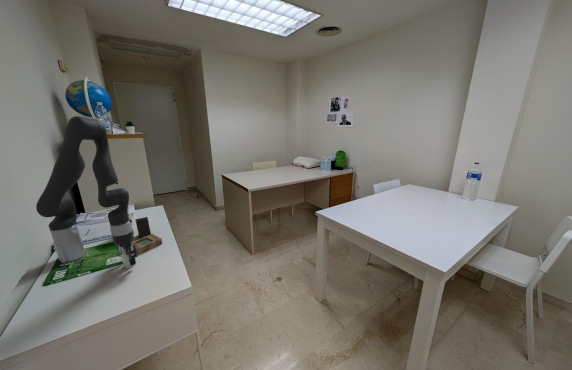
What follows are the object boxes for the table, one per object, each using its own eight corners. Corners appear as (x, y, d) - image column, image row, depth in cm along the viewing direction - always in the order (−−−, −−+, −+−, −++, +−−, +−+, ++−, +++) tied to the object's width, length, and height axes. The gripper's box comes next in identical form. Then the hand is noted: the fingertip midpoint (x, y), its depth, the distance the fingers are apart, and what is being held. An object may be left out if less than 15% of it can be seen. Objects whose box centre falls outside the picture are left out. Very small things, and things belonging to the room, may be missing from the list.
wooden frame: (135, 256, 108) (134, 250, 108) (126, 250, 113) (124, 245, 112) (162, 243, 120) (161, 238, 119) (152, 238, 125) (152, 233, 124)
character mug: (135, 237, 126) (131, 217, 123) (120, 241, 122) (115, 220, 119) (134, 230, 135) (130, 211, 131) (120, 233, 130) (115, 214, 127)
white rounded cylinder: (126, 269, 98) (123, 254, 96) (122, 266, 101) (118, 250, 98) (137, 264, 102) (134, 249, 100) (132, 261, 104) (129, 246, 102)
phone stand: (138, 234, 129) (134, 217, 126) (150, 231, 133) (146, 214, 129) (139, 241, 122) (135, 222, 119) (151, 237, 126) (148, 219, 123)
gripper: (105, 230, 97) (113, 261, 101) (119, 239, 90) (127, 271, 94) (124, 224, 103) (130, 253, 107) (138, 232, 96) (145, 262, 100)
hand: (129, 261), depth 101 cm, fingers open, 8 cm apart
